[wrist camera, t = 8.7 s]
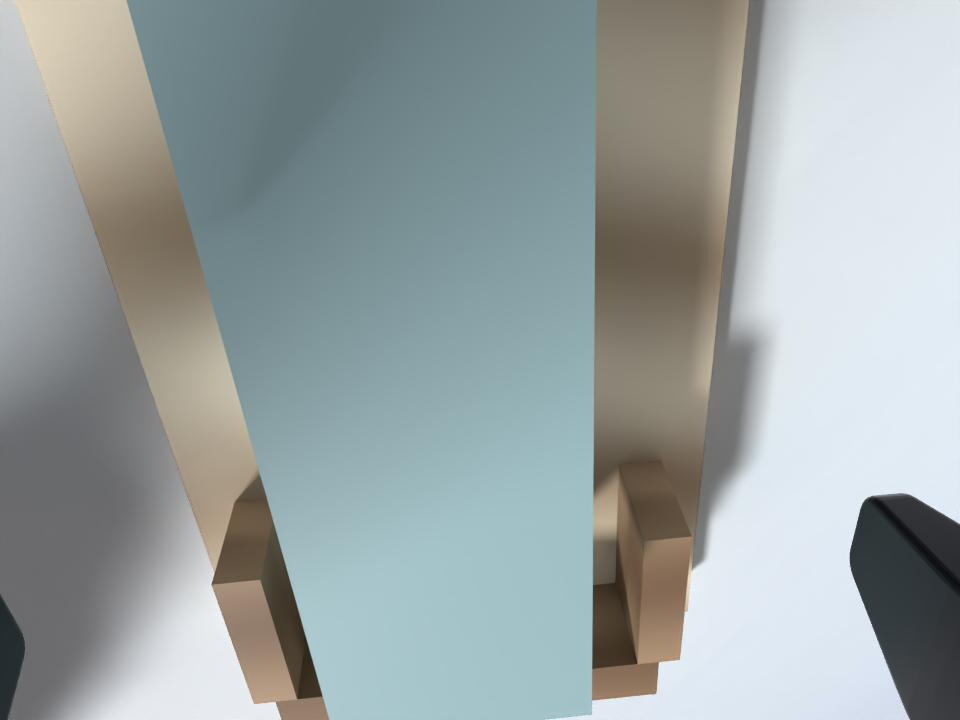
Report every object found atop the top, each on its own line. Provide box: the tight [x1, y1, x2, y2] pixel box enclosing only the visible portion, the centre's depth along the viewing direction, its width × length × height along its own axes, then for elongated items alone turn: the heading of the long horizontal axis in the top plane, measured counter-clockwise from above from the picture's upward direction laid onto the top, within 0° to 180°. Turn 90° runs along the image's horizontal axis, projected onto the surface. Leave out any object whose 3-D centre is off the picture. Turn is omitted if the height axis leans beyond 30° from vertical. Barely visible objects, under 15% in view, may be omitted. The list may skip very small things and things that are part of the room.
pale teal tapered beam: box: [126, 0, 597, 720], centre depth 13 cm, size 17×5×5 cm, turn 4°
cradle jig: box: [14, 0, 749, 720], centre depth 15 cm, size 23×12×4 cm, turn 4°
